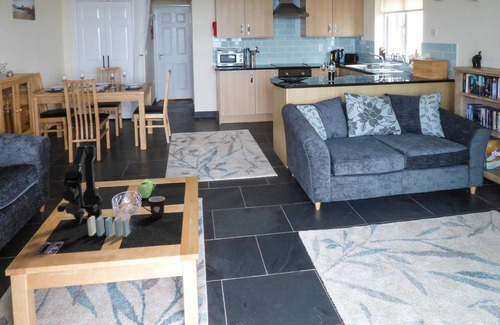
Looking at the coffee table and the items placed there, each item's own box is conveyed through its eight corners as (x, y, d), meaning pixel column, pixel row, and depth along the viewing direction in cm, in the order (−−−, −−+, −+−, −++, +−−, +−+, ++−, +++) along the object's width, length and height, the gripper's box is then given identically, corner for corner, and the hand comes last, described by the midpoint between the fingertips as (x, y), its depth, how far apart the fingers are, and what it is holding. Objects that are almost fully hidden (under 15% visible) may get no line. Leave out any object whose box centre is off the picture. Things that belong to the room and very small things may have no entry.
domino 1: (89, 235, 225) (87, 219, 223) (93, 231, 230) (91, 216, 227) (92, 235, 225) (90, 219, 222) (96, 231, 229) (94, 216, 227)
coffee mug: (168, 214, 252) (167, 197, 249) (160, 219, 244) (159, 202, 241) (150, 211, 256) (149, 195, 253) (142, 217, 248) (140, 200, 245)
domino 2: (97, 236, 224) (96, 220, 222) (101, 231, 229) (100, 216, 227) (100, 236, 224) (99, 220, 222) (104, 232, 229) (103, 216, 227)
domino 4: (115, 236, 223) (113, 220, 221) (118, 232, 228) (117, 216, 226) (118, 236, 223) (116, 220, 221) (122, 232, 228) (120, 216, 226)
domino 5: (123, 236, 223) (121, 220, 221) (126, 232, 228) (125, 217, 226) (126, 237, 223) (124, 220, 221) (129, 232, 228) (128, 217, 226)
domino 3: (106, 236, 224) (104, 220, 222) (110, 232, 229) (108, 216, 227) (109, 236, 224) (108, 220, 222) (113, 232, 229) (111, 216, 226)
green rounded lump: (154, 200, 274) (153, 183, 271) (136, 200, 274) (135, 183, 271) (158, 193, 286) (157, 177, 283) (140, 194, 286) (139, 177, 283)
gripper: (49, 199, 215) (53, 229, 219) (87, 200, 214) (90, 231, 218) (61, 191, 226) (64, 221, 230) (97, 192, 224) (100, 222, 228)
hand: (79, 223), depth 226 cm, fingers closed
